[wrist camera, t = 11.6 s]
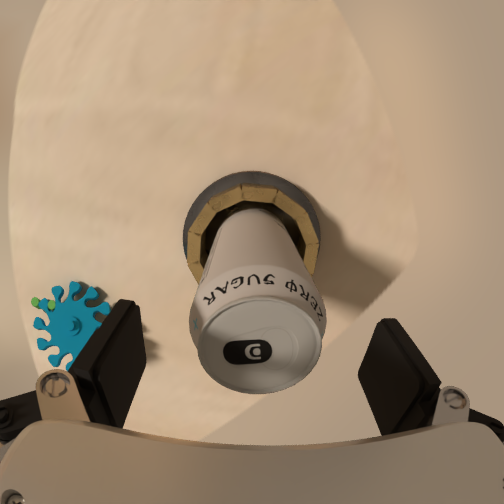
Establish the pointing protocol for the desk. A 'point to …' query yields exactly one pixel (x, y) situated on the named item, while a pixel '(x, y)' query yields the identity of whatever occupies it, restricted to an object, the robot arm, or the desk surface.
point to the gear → (68, 321)
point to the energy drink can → (256, 307)
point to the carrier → (249, 196)
